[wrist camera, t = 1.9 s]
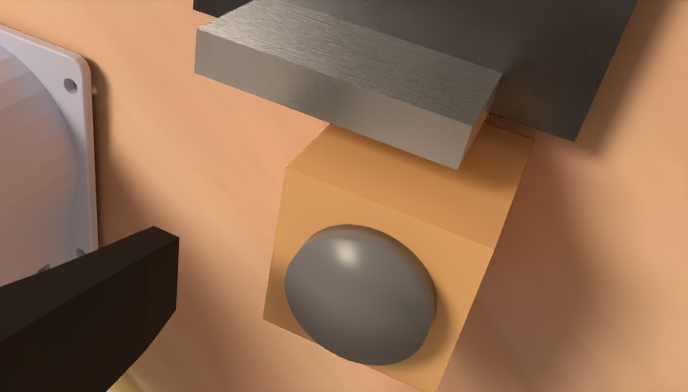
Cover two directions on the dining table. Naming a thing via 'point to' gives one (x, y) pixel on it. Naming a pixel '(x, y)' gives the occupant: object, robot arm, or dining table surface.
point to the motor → (417, 63)
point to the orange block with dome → (388, 247)
